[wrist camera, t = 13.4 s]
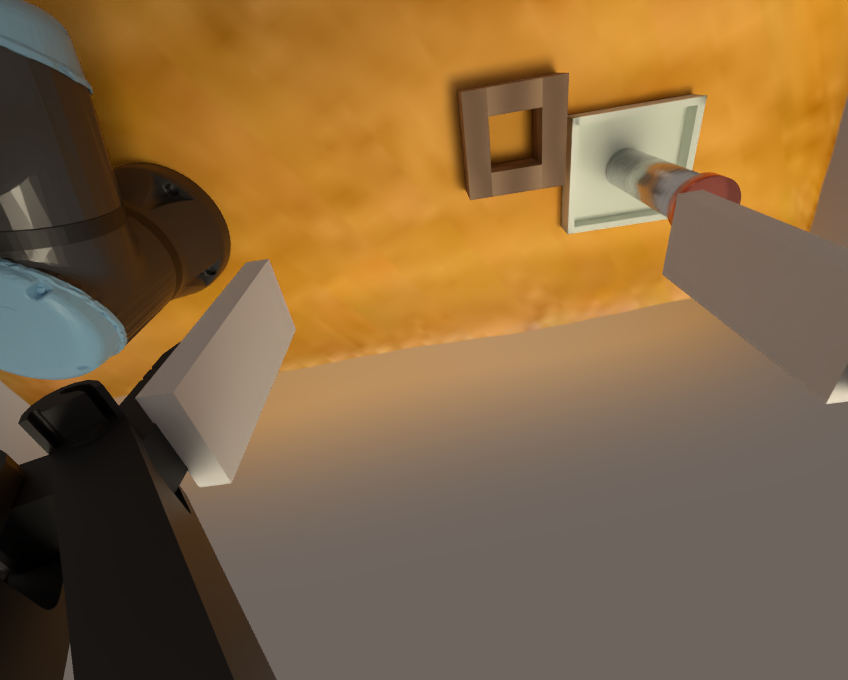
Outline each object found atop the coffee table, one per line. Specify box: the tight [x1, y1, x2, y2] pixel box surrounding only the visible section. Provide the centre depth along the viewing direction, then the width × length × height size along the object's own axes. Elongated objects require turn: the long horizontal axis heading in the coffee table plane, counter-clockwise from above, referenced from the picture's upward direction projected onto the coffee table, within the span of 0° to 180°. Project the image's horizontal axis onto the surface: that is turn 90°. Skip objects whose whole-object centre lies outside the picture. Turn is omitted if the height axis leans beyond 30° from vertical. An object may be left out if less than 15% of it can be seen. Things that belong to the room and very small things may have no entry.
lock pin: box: [605, 148, 741, 225], centre depth 39 cm, size 5×5×16 cm
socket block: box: [457, 73, 569, 200], centre depth 42 cm, size 10×10×4 cm
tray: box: [561, 94, 707, 234], centre depth 45 cm, size 13×12×3 cm
